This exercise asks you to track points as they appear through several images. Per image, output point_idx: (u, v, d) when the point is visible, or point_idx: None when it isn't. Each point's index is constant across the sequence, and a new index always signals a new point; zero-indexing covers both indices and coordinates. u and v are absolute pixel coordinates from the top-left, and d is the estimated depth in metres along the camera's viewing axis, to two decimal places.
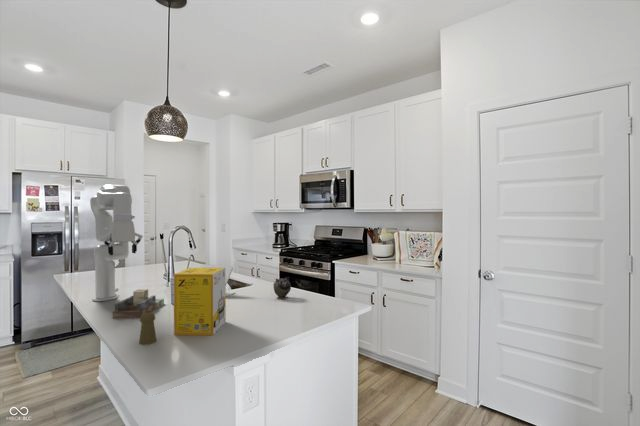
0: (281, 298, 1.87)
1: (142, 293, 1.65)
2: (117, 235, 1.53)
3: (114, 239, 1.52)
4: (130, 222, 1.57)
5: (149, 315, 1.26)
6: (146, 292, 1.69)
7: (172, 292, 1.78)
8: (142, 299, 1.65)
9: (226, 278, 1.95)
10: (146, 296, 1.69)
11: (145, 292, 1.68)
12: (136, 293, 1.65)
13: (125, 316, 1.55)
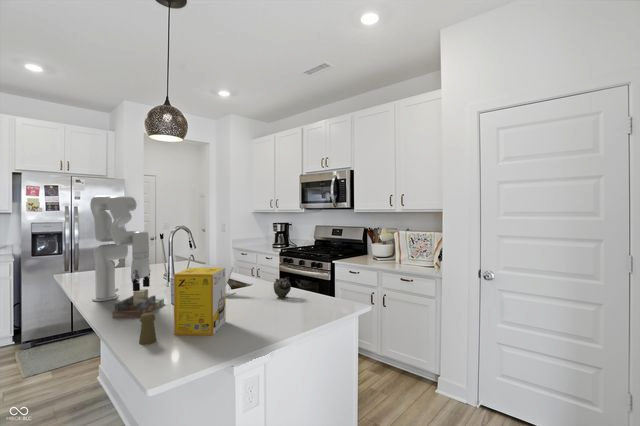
0: (281, 298, 1.87)
1: (142, 293, 1.65)
2: (142, 271, 1.65)
3: (141, 275, 1.64)
4: (148, 258, 1.70)
5: (149, 315, 1.26)
6: (146, 292, 1.69)
7: (172, 292, 1.78)
8: (142, 299, 1.65)
9: (226, 278, 1.95)
10: (146, 296, 1.69)
11: (145, 292, 1.68)
12: (136, 293, 1.65)
13: (125, 316, 1.55)
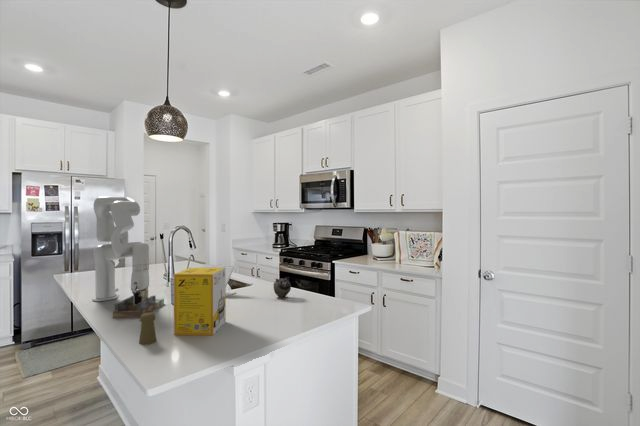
0: (281, 298, 1.87)
1: (142, 293, 1.65)
2: (142, 283, 1.65)
3: (140, 288, 1.64)
4: (147, 270, 1.71)
5: (149, 315, 1.26)
6: (146, 292, 1.69)
7: (172, 292, 1.78)
8: (142, 299, 1.65)
9: (227, 278, 1.95)
10: (146, 296, 1.69)
11: (145, 292, 1.67)
12: None
13: (125, 316, 1.55)
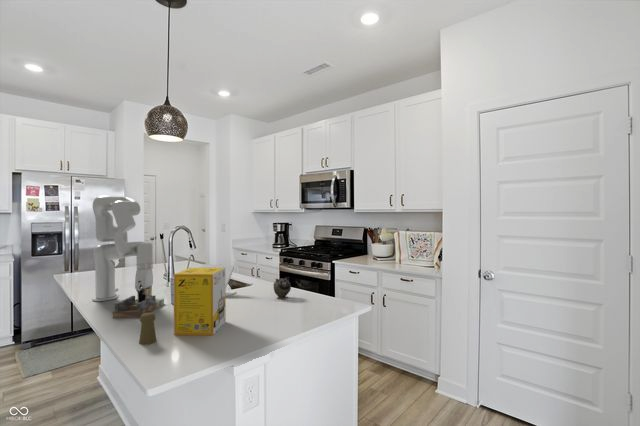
0: (281, 298, 1.87)
1: (146, 291, 1.69)
2: (146, 282, 1.69)
3: (144, 286, 1.68)
4: (151, 268, 1.75)
5: (149, 315, 1.26)
6: (150, 290, 1.73)
7: (172, 292, 1.78)
8: (146, 297, 1.69)
9: (227, 278, 1.96)
10: (150, 294, 1.73)
11: (149, 290, 1.72)
12: None
13: (125, 316, 1.55)
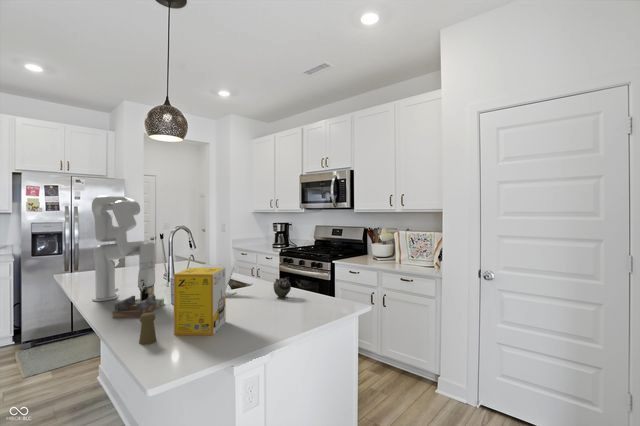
0: (281, 298, 1.87)
1: (149, 289, 1.72)
2: (149, 281, 1.72)
3: (147, 285, 1.71)
4: (154, 268, 1.77)
5: (149, 315, 1.26)
6: (152, 289, 1.75)
7: (172, 292, 1.78)
8: (149, 295, 1.72)
9: (228, 278, 1.96)
10: (152, 293, 1.75)
11: (151, 289, 1.74)
12: None
13: (125, 316, 1.55)
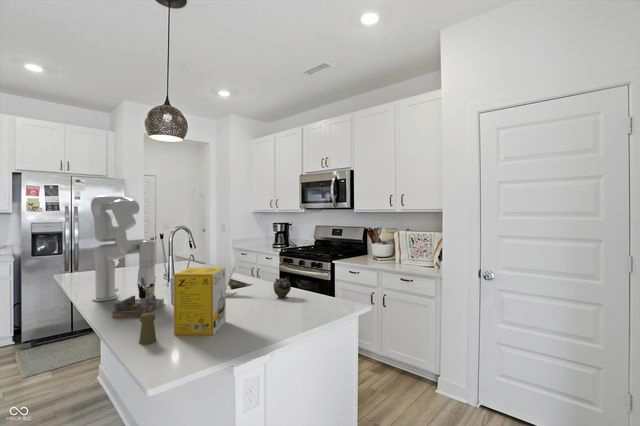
0: (281, 298, 1.87)
1: (149, 289, 1.72)
2: (148, 279, 1.72)
3: (147, 283, 1.71)
4: (153, 266, 1.77)
5: (149, 315, 1.26)
6: (152, 289, 1.75)
7: (172, 292, 1.78)
8: (149, 296, 1.72)
9: (228, 278, 1.96)
10: (152, 293, 1.75)
11: (151, 289, 1.74)
12: None
13: (125, 316, 1.55)
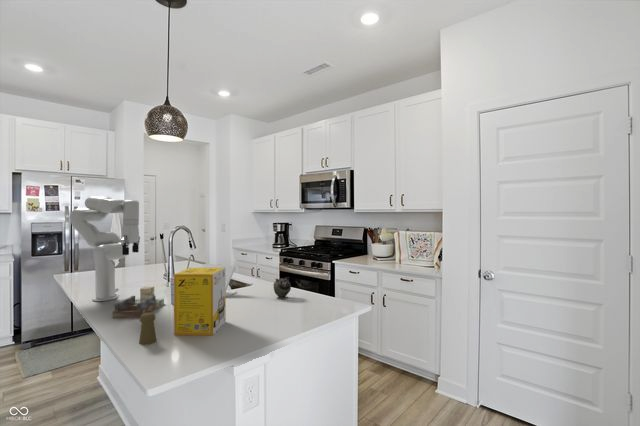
0: (281, 298, 1.87)
1: (149, 289, 1.72)
2: (132, 237, 1.77)
3: (130, 241, 1.76)
4: (137, 225, 1.82)
5: (149, 315, 1.26)
6: (152, 289, 1.75)
7: (172, 292, 1.78)
8: (149, 296, 1.72)
9: (228, 277, 1.97)
10: (152, 293, 1.75)
11: (151, 289, 1.74)
12: (143, 290, 1.72)
13: (125, 316, 1.55)
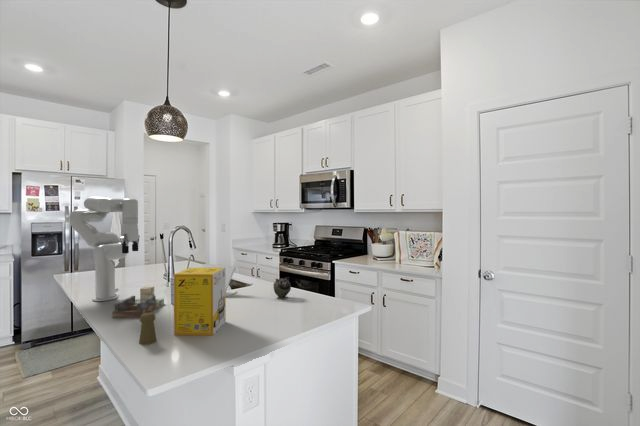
0: (281, 298, 1.87)
1: (149, 289, 1.72)
2: (131, 235, 1.77)
3: (130, 239, 1.76)
4: (137, 224, 1.83)
5: (149, 315, 1.26)
6: (152, 289, 1.75)
7: (172, 292, 1.78)
8: (149, 296, 1.72)
9: (229, 277, 1.97)
10: (152, 293, 1.75)
11: (151, 289, 1.74)
12: (143, 290, 1.72)
13: (125, 316, 1.55)
